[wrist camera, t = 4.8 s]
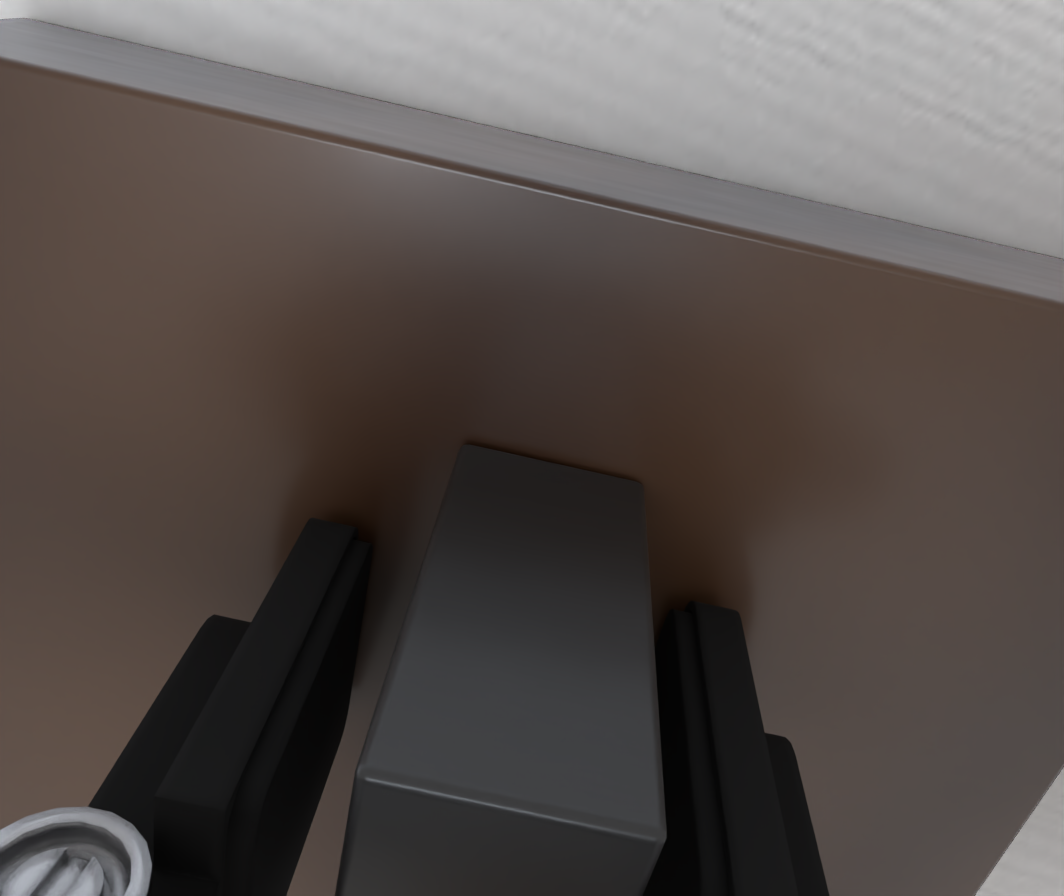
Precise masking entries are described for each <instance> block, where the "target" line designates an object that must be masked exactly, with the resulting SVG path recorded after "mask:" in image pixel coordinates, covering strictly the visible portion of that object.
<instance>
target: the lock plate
mask: <svg viewBox="0 0 1064 896" xmlns="http://www.w3.org/2000/svg"><path fill="white" fill-rule="evenodd" d="M463 445H474V446H478V447H483V448H487V449H492V450H496V451H501V452H505V453H510V454H514V455H519V456H523V457H528V458H533V459H537V460H542V461H546V462H551V463H555V464H560V465H564V466H569V467H573V468H578V469H582V470H587V471H591V472H596V473H600V474H605V475H609V476H614V477H618V478H623V479H627V480H632V481H636V482H638V483H640V484H642V485H643V487H644V496H645V511H646V526H647V541H648V556H649V571H650V587H651V602H652V617H653V632H654V647H656V644H657V641H658V639H659V636H660V633H661V630H662V627H663V624H664V622H665V619H666V616H667V614H668V612H669V611H670V610H671V609H675V610H679V611H684V610H685V607H686V606H687V604H688V603H689V602H690V601H696V602H701V603H705V604H710V605H714V606H719V607H723V608H728V609H733V610H736V611H738V612H739V614H740V617H741V621H742V626H743V631H744V635H745V640H746V645H747V650H748V655H749V659H750V664H751V669H752V674H753V679H754V684H755V688H756V693H757V698H758V703H759V708H760V712H761V717H762V722H763V727H764V732H765V733H769V734H774V735H778V736H783V737H786V738H787V739H788V740H789V741H790V742H791V744H792V747H793V749H794V752H795V755H796V759H797V763H798V767H799V771H800V775H801V780H802V784H803V788H804V792H805V796H806V800H807V804H808V809H809V813H810V817H811V821H812V825H813V829H814V833H815V838H816V842H817V846H818V850H819V854H820V858H821V862H822V866H823V871H824V875H825V879H826V883H827V887H828V891H829V895H830V896H975V895H976V893H977V892H978V890H979V889H980V887H981V886H982V884H983V883H984V882H985V880H986V879H987V877H988V876H989V874H990V873H991V871H992V870H993V869H994V867H995V866H996V864H997V863H998V861H999V860H1000V858H1001V857H1002V856H1003V854H1004V853H1005V851H1006V850H1007V848H1008V847H1009V845H1010V844H1011V842H1012V841H1013V840H1014V838H1015V837H1016V835H1017V834H1018V832H1019V831H1020V829H1021V828H1022V827H1023V825H1024V824H1025V822H1026V821H1027V819H1028V818H1029V816H1030V815H1031V813H1032V812H1033V811H1034V809H1035V808H1036V806H1037V805H1038V803H1039V802H1040V800H1041V799H1042V798H1043V796H1044V795H1045V793H1046V792H1047V790H1048V789H1049V787H1050V786H1051V785H1052V783H1053V782H1054V780H1055V779H1056V777H1057V776H1058V774H1059V773H1060V771H1061V770H1062V769H1063V767H1064V260H1063V259H1059V258H1055V257H1051V256H1046V255H1042V254H1038V253H1033V252H1029V251H1025V250H1020V249H1016V248H1012V247H1008V246H1003V245H999V244H995V243H990V242H986V241H982V240H977V239H973V238H969V237H965V236H960V235H956V234H952V233H947V232H943V231H939V230H934V229H930V228H926V227H922V226H917V225H913V224H909V223H904V222H900V221H896V220H891V219H887V218H883V217H879V216H874V215H870V214H866V213H861V212H857V211H853V210H848V209H844V208H840V207H836V206H831V205H827V204H823V203H818V202H814V201H810V200H805V199H801V198H797V197H793V196H788V195H784V194H780V193H775V192H771V191H767V190H762V189H758V188H754V187H750V186H745V185H741V184H737V183H732V182H728V181H724V180H719V179H715V178H711V177H707V176H702V175H698V174H694V173H689V172H685V171H681V170H676V169H672V168H668V167H664V166H659V165H655V164H651V163H646V162H642V161H638V160H633V159H629V158H625V157H621V156H616V155H612V154H608V153H603V152H599V151H595V150H590V149H586V148H582V147H578V146H573V145H569V144H565V143H560V142H556V141H552V140H547V139H543V138H539V137H535V136H530V135H526V134H522V133H517V132H513V131H509V130H504V129H500V128H496V127H492V126H487V125H483V124H479V123H474V122H470V121H466V120H461V119H457V118H453V117H449V116H444V115H440V114H436V113H431V112H427V111H423V110H418V109H414V108H410V107H405V106H401V105H397V104H393V103H388V102H384V101H380V100H375V99H371V98H367V97H362V96H358V95H354V94H350V93H345V92H341V91H337V90H332V89H328V88H324V87H319V86H315V85H311V84H307V83H302V82H298V81H294V80H289V79H285V78H281V77H276V76H272V75H268V74H264V73H259V72H255V71H251V70H246V69H242V68H238V67H233V66H229V65H225V64H221V63H216V62H212V61H208V60H203V59H199V58H195V57H190V56H186V55H182V54H178V53H173V52H169V51H165V50H160V49H156V48H152V47H147V46H143V45H139V44H135V43H130V42H126V41H122V40H117V39H113V38H109V37H104V36H100V35H96V34H92V33H87V32H83V31H79V30H74V29H70V28H66V27H61V26H57V25H53V24H49V23H44V22H40V21H36V20H31V19H27V18H16V19H0V830H1V829H3V828H5V827H7V826H9V825H10V824H12V823H14V822H16V821H18V820H20V819H22V818H24V817H26V816H29V815H33V814H36V813H40V812H44V811H47V810H51V809H55V808H64V807H88V805H89V804H90V802H91V801H92V799H93V797H94V796H95V794H96V793H97V791H98V789H99V788H100V786H101V785H102V783H103V781H104V780H105V778H106V777H107V775H108V774H109V772H110V770H111V769H112V767H113V766H114V764H115V762H116V761H117V759H118V758H119V756H120V755H121V753H122V751H123V750H124V748H125V747H126V745H127V743H128V742H129V740H130V739H131V737H132V736H133V734H134V732H135V731H136V729H137V728H138V726H139V724H140V723H141V721H142V720H143V718H144V717H145V715H146V713H147V712H148V710H149V709H150V707H151V705H152V704H153V702H154V701H155V699H156V697H157V696H158V694H159V693H160V691H161V690H162V688H163V686H164V685H165V683H166V682H167V680H168V678H169V677H170V675H171V674H172V672H173V671H174V669H175V667H176V666H177V664H178V663H179V661H180V659H181V658H182V656H183V655H184V653H185V652H186V650H187V648H188V647H189V645H190V644H191V642H192V640H193V639H194V637H195V636H196V634H197V632H198V631H199V629H200V628H201V626H202V625H203V624H204V622H205V621H206V620H207V619H208V618H209V617H210V616H212V615H214V614H215V615H219V616H224V617H229V618H233V619H238V620H243V621H247V622H252V620H253V618H254V616H255V615H256V613H257V611H258V609H259V607H260V606H261V604H262V602H263V600H264V598H265V597H266V595H267V593H268V591H269V589H270V588H271V586H272V584H273V582H274V580H275V579H276V577H277V575H278V573H279V571H280V570H281V568H282V566H283V564H284V562H285V561H286V559H287V557H288V555H289V554H290V552H291V550H292V548H293V546H294V545H295V543H296V541H297V539H298V537H299V536H300V534H301V532H302V530H303V528H304V527H305V525H306V523H307V522H308V520H309V519H310V518H316V519H321V520H325V521H330V522H334V523H339V524H344V525H348V526H353V527H357V528H358V541H363V542H367V543H372V544H373V552H372V560H371V566H370V573H369V579H368V586H367V592H366V599H365V605H364V612H363V619H362V625H361V632H360V638H359V645H358V651H357V658H356V664H355V671H354V677H353V684H352V691H351V697H350V704H349V710H348V715H347V720H346V724H345V728H344V732H343V735H342V739H341V742H340V745H339V748H338V750H337V753H336V756H335V759H334V762H333V765H332V767H331V770H330V773H329V776H328V779H327V782H326V784H325V787H324V790H323V793H322V796H321V799H320V802H319V804H318V807H317V810H316V813H315V816H314V819H313V821H312V824H311V827H310V830H309V833H308V836H307V838H306V841H305V844H304V847H303V850H302V853H301V855H300V858H299V861H298V864H297V867H296V870H295V872H294V875H293V878H292V881H291V884H290V887H289V890H288V892H287V895H286V896H335V891H336V885H337V879H338V873H339V867H340V861H341V855H342V848H343V842H344V836H345V830H346V824H347V818H348V811H349V805H350V799H351V793H352V787H353V781H354V775H355V770H356V767H357V764H358V760H359V757H360V754H361V751H362V748H363V745H364V742H365V739H366V736H367V733H368V730H369V726H370V723H371V720H372V717H373V714H374V711H375V708H376V705H377V702H378V699H379V696H380V692H381V689H382V686H383V683H384V680H385V677H386V674H387V671H388V668H389V665H390V662H391V658H392V655H393V652H394V649H395V646H396V643H397V640H398V637H399V634H400V631H401V628H402V624H403V621H404V618H405V615H406V612H407V609H408V606H409V603H410V600H411V597H412V594H413V590H414V587H415V584H416V581H417V578H418V575H419V572H420V569H421V566H422V563H423V560H424V556H425V553H426V550H427V547H428V544H429V541H430V538H431V535H432V532H433V529H434V526H435V522H436V519H437V516H438V513H439V510H440V507H441V504H442V501H443V498H444V495H445V492H446V488H447V485H448V482H449V479H450V476H451V473H452V470H453V467H454V464H455V461H456V458H457V454H458V451H459V450H460V448H461V447H462V446H463Z"/></svg>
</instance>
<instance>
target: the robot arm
mask: <svg viewBox="0 0 1064 896" xmlns="http://www.w3.org/2000/svg"><path fill="white" fill-rule="evenodd" d="M372 552H373V544H372V543H367V542H363V541H358V528H357V527H353V526H348V525H344V524H339V523H334V522H330V521H325V520H321V519H316V518H310V519H309V520H308V522H307V523H306V525H305V527H304V528H303V530H302V532H301V534H300V536H299V537H298V539H297V541H296V543H295V545H294V546H293V548H292V550H291V552H290V554H289V555H288V557H287V559H286V561H285V562H284V564H283V566H282V568H281V570H280V571H279V573H278V575H277V577H276V579H275V580H274V582H273V584H272V586H271V588H270V589H269V591H268V593H267V595H266V597H265V598H264V600H263V602H262V604H261V606H260V607H259V609H258V611H257V613H256V615H255V616H254V618H253V620H252V622H247V621H243V620H238V619H233V618H229V617H224V616H219V615H215V614H214V615H212V616H210V617H209V618H208V619H207V620H206V621H205V622H204V624H203V625H202V626H201V628H200V629H199V631H198V632H197V634H196V636H195V637H194V639H193V640H192V642H191V644H190V645H189V647H188V648H187V650H186V652H185V653H184V655H183V656H182V658H181V659H180V661H179V663H178V664H177V666H176V667H175V669H174V671H173V672H172V674H171V675H170V677H169V678H168V680H167V682H166V683H165V685H164V686H163V688H162V690H161V691H160V693H159V694H158V696H157V697H156V699H155V701H154V702H153V704H152V705H151V707H150V709H149V710H148V712H147V713H146V715H145V717H144V718H143V720H142V721H141V723H140V724H139V726H138V728H137V729H136V731H135V732H134V734H133V736H132V737H131V739H130V740H129V742H128V743H127V745H126V747H125V748H124V750H123V751H122V753H121V755H120V756H119V758H118V759H117V761H116V762H115V764H114V766H113V767H112V769H111V770H110V772H109V774H108V775H107V777H106V778H105V780H104V781H103V783H102V785H101V786H100V788H99V789H98V791H97V793H96V794H95V796H94V797H93V799H92V801H91V802H90V804H89V805H88V807H64V808H55V809H51V810H47V811H44V812H40V813H36V814H33V815H29V816H26V817H24V818H22V819H20V820H18V821H16V822H14V823H12V824H10V825H9V826H7V827H5V828H3V829H1V830H0V896H286V895H287V892H288V890H289V887H290V884H291V881H292V878H293V875H294V872H295V870H296V867H297V864H298V861H299V858H300V855H301V853H302V850H303V847H304V844H305V841H306V838H307V836H308V833H309V830H310V827H311V824H312V821H313V819H314V816H315V813H316V810H317V807H318V804H319V802H320V799H321V796H322V793H323V790H324V787H325V784H326V782H327V779H328V776H329V773H330V770H331V767H332V765H333V762H334V759H335V756H336V753H337V750H338V748H339V745H340V742H341V739H342V735H343V732H344V728H345V724H346V720H347V715H348V710H349V704H350V697H351V691H352V684H353V677H354V671H355V664H356V658H357V651H358V645H359V638H360V632H361V625H362V619H363V612H364V605H365V599H366V592H367V586H368V579H369V573H370V566H371V560H372ZM655 662H656V677H657V693H658V708H659V723H660V738H661V753H662V768H663V783H664V798H665V814H666V829H667V838H666V841H665V843H664V845H663V848H662V850H661V853H660V855H659V857H658V860H657V862H656V865H655V867H654V869H653V872H652V874H651V877H650V879H649V881H648V884H647V886H646V889H645V891H644V893H643V896H830V895H829V891H828V887H827V883H826V879H825V875H824V871H823V866H822V862H821V858H820V854H819V850H818V846H817V842H816V838H815V833H814V829H813V825H812V821H811V817H810V813H809V809H808V804H807V800H806V796H805V792H804V788H803V784H802V780H801V775H800V771H799V767H798V763H797V759H796V755H795V752H794V749H793V747H792V744H791V742H790V741H789V740H788V739H787V738H786V737H783V736H778V735H774V734H769V733H765V732H764V727H763V722H762V717H761V712H760V708H759V703H758V698H757V693H756V688H755V684H754V679H753V674H752V669H751V664H750V659H749V655H748V650H747V645H746V640H745V635H744V631H743V626H742V621H741V617H740V614H739V612H738V611H736V610H733V609H728V608H723V607H719V606H714V605H710V604H705V603H701V602H696V601H690V602H689V603H688V604H687V606H686V607H685V610H684V611H679V610H675V609H671V610H670V611H669V612H668V614H667V616H666V619H665V622H664V624H663V627H662V630H661V633H660V636H659V639H658V641H657V644H656V647H655Z"/></svg>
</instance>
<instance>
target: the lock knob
mask: <svg viewBox="0 0 1064 896" xmlns="http://www.w3.org/2000/svg"><path fill="white" fill-rule="evenodd" d="M666 838H667V829H666V814H665V798H664V783H663V768H662V753H661V738H660V723H659V708H658V693H657V677H656V662H655V647H654V632H653V617H652V602H651V587H650V571H649V556H648V541H647V526H646V511H645V496H644V487H643V485H642V484H640V483H638V482H636V481H632V480H627V479H623V478H618V477H614V476H609V475H605V474H600V473H596V472H591V471H587V470H582V469H578V468H573V467H569V466H564V465H560V464H555V463H551V462H546V461H542V460H537V459H533V458H528V457H523V456H519V455H514V454H510V453H505V452H501V451H496V450H492V449H487V448H483V447H478V446H474V445H463V446H462V447H461V448H460V450H459V451H458V454H457V458H456V461H455V464H454V467H453V470H452V473H451V476H450V479H449V482H448V485H447V488H446V492H445V495H444V498H443V501H442V504H441V507H440V510H439V513H438V516H437V519H436V522H435V526H434V529H433V532H432V535H431V538H430V541H429V544H428V547H427V550H426V553H425V556H424V560H423V563H422V566H421V569H420V572H419V575H418V578H417V581H416V584H415V587H414V590H413V594H412V597H411V600H410V603H409V606H408V609H407V612H406V615H405V618H404V621H403V624H402V628H401V631H400V634H399V637H398V640H397V643H396V646H395V649H394V652H393V655H392V658H391V662H390V665H389V668H388V671H387V674H386V677H385V680H384V683H383V686H382V689H381V692H380V696H379V699H378V702H377V705H376V708H375V711H374V714H373V717H372V720H371V723H370V726H369V730H368V733H367V736H366V739H365V742H364V745H363V748H362V751H361V754H360V757H359V760H358V764H357V767H356V770H355V775H354V781H353V787H352V793H351V799H350V805H349V811H348V818H347V824H346V830H345V836H344V842H343V848H342V855H341V861H340V867H339V873H338V879H337V885H336V891H335V896H643V893H644V891H645V889H646V886H647V884H648V881H649V879H650V877H651V874H652V872H653V869H654V867H655V865H656V862H657V860H658V857H659V855H660V853H661V850H662V848H663V845H664V843H665V841H666Z"/></svg>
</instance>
